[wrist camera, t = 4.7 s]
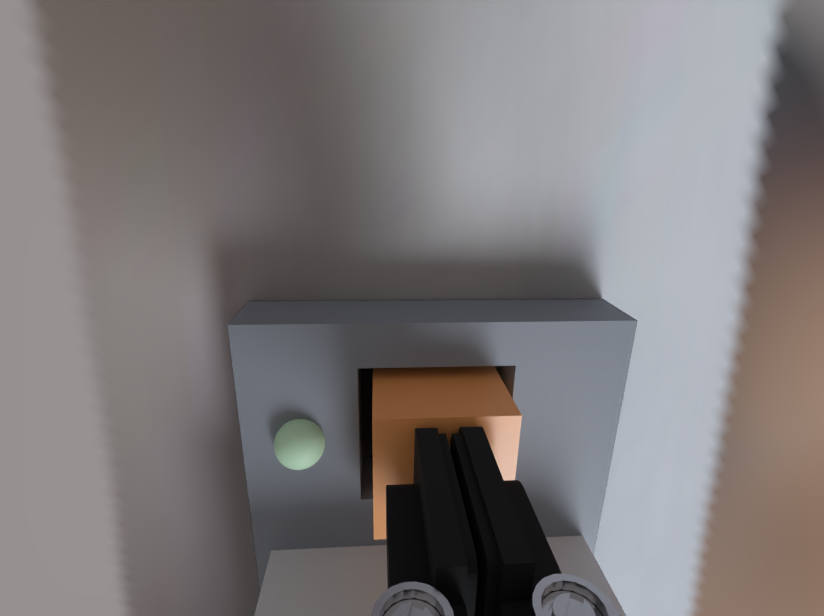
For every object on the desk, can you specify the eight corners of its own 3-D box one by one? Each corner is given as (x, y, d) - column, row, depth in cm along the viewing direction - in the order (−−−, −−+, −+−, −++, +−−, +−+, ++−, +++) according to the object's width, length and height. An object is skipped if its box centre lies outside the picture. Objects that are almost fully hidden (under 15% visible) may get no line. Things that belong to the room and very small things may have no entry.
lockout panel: (541, 685, 20) (592, 848, 15) (290, 703, 19) (261, 881, 15) (603, 298, 14) (714, 369, 10) (248, 301, 14) (179, 379, 9)
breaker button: (482, 457, 15) (509, 533, 12) (374, 461, 15) (373, 539, 12) (490, 358, 14) (522, 415, 11) (372, 360, 14) (372, 419, 11)
